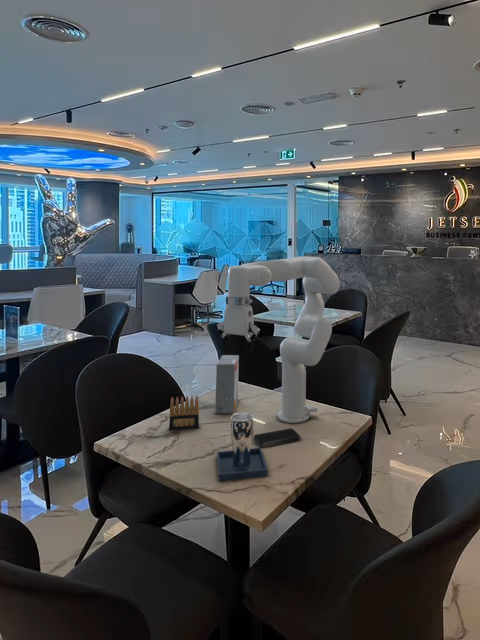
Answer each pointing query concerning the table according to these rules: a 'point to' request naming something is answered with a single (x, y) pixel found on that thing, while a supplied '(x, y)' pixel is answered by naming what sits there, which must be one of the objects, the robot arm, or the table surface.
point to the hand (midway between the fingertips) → (237, 350)
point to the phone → (276, 437)
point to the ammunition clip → (186, 420)
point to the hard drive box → (227, 384)
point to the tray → (229, 473)
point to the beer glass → (241, 440)
